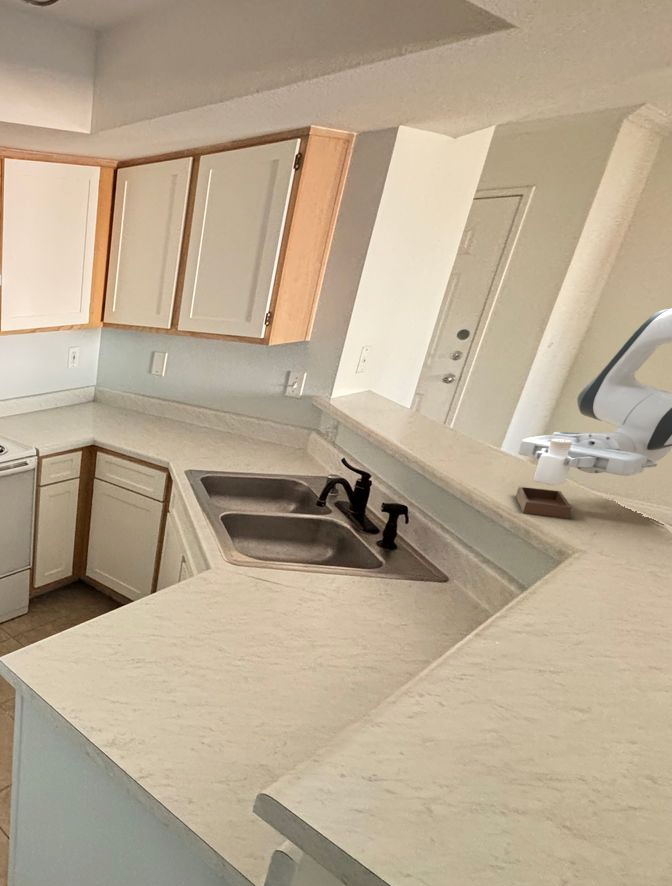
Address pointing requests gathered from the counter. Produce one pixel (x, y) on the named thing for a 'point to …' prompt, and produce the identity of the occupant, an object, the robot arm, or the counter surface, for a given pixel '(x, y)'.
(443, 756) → the counter surface
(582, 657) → the counter surface
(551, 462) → the pepper shaker
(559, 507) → the tray
